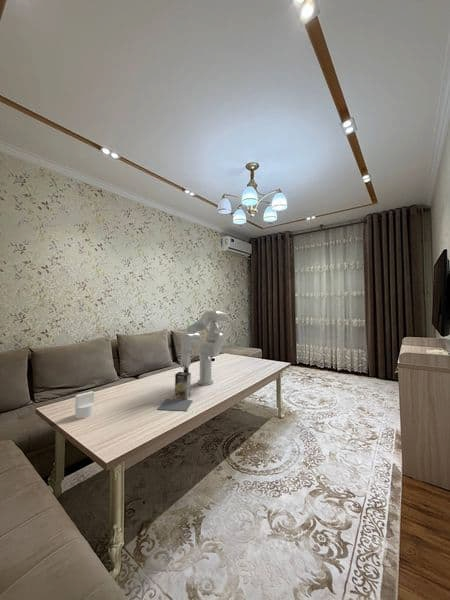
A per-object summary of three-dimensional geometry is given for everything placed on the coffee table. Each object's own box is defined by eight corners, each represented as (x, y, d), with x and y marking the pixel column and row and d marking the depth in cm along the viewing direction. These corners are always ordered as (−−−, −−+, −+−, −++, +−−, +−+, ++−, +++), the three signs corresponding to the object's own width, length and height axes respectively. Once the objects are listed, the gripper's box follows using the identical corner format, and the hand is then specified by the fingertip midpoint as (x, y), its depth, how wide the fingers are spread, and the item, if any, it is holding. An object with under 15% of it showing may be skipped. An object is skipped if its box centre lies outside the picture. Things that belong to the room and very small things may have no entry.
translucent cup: (89, 410, 145) (89, 389, 146) (96, 414, 140) (96, 393, 140) (72, 415, 138) (73, 394, 139) (79, 420, 133) (79, 398, 133)
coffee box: (174, 398, 165) (174, 374, 165) (178, 394, 171) (178, 371, 171) (187, 399, 162) (187, 375, 162) (190, 396, 168) (191, 372, 168)
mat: (165, 399, 162) (165, 398, 162) (192, 400, 161) (192, 400, 161) (156, 409, 146) (156, 409, 146) (186, 411, 145) (186, 410, 145)
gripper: (183, 349, 183) (183, 373, 183) (178, 352, 169) (177, 379, 168) (193, 349, 183) (193, 374, 182) (188, 353, 168) (188, 380, 167)
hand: (185, 376), depth 175 cm, fingers closed
